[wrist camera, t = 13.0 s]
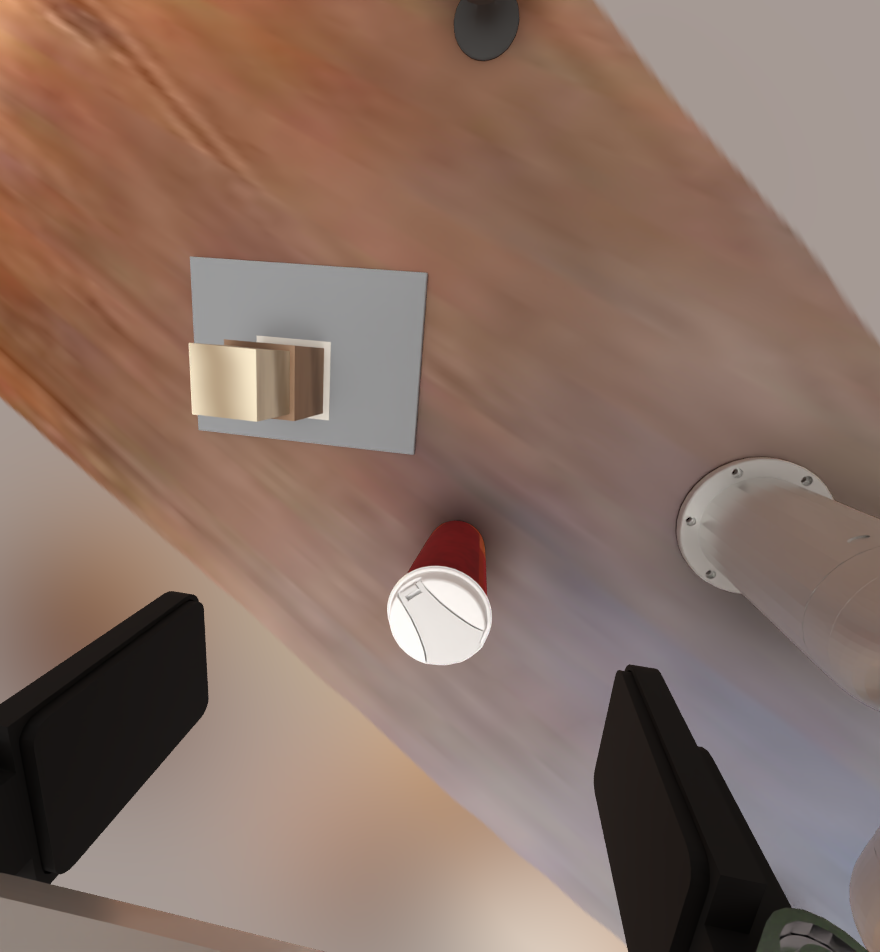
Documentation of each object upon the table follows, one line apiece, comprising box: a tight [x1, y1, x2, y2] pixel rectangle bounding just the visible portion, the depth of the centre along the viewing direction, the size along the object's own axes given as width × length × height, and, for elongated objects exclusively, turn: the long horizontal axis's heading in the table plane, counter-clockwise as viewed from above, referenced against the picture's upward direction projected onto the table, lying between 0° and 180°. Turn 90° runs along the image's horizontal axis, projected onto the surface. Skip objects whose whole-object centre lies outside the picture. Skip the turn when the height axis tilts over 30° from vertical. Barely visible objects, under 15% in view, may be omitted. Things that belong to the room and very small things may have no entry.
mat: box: [190, 257, 428, 455], centre depth 42 cm, size 22×16×1 cm
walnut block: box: [224, 339, 324, 421], centre depth 39 cm, size 6×6×6 cm
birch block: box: [189, 343, 290, 422], centre depth 34 cm, size 5×5×5 cm
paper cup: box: [387, 521, 492, 665], centre depth 38 cm, size 8×8×14 cm
